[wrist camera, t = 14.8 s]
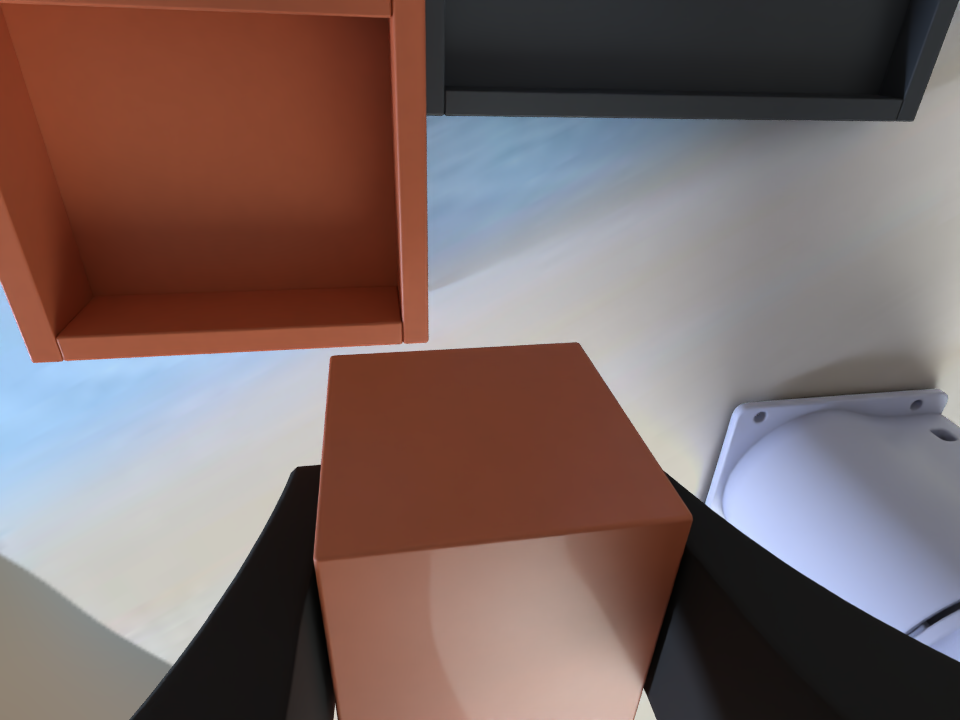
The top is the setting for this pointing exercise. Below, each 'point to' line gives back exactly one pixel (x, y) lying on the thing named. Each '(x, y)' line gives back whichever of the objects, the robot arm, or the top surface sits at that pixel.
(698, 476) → the top surface
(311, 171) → the terracotta bin
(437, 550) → the terracotta block
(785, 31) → the charcoal tray
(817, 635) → the robot arm
